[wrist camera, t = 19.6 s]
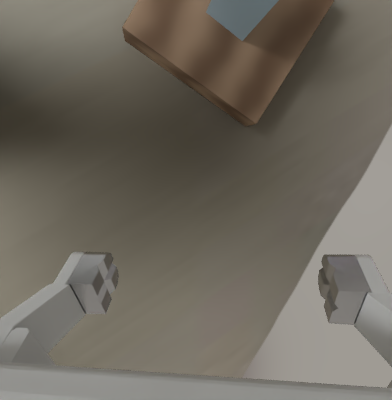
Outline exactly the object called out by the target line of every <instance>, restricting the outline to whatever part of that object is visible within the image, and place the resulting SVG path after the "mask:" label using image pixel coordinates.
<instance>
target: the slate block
mask: <svg viewBox="0 0 392 400" xmlns="http://www.w3.org/2000/svg"><path fill="white" fill-rule="evenodd" d="M278 1H279V0H211V2H210V4H209V6H208V9H207V11H206V13H207V14H209V15H210V16H211V17H212V18H214V19H215V20H216V21H217V22H219V23H220V24H221V25H223V26H224V27H225V28H226V29H228V30H229V31H230V32H231V33H233V34H234V35H235V36H236V37H238V38H239V39H240V40H241V41H243V40H244V39H245V38H246V37H247V35H248V34H249V33H250V32H251V31H252V30H253V29H254V28H255V26H256V25H257V24H258V23H259V22H260V21H261V20H262V19H263V17H264V16H265V15H266V14H267V13H268V12H269V11H270V10H271V9H272V7H273V6H274V5H275V4H276V3H277V2H278Z"/></svg>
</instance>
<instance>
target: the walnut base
mask: <svg viewBox="0 0 392 400" xmlns="http://www.w3.org/2000/svg"><path fill="white" fill-rule="evenodd" d="M210 2H211V0H138V1H137V3H136V5H135V6H134V8H133V10H132V12H131V13H130V15H129V17H128V18H127V20H126V22H125V23H124V25H123V27H122V28H123V33H124V38H125V41H126V42H128V43H129V44H130V45H132V46H133V47H135V48H136V49H137V50H139V51H140V52H142V53H143V54H144V55H146V56H147V57H149V58H150V59H151V60H153V61H154V62H156V63H157V64H158V65H160V66H161V67H163V68H164V69H165V70H167V71H168V72H170V73H171V74H173V75H174V76H175V77H177V78H178V79H180V80H181V81H182V82H184V83H185V84H187V85H188V86H189V87H191V88H192V89H194V90H195V91H196V92H198V93H199V94H201V95H202V96H203V97H205V98H206V99H208V100H209V101H210V102H212V103H213V104H215V105H216V106H217V107H219V108H220V109H222V110H223V111H224V112H226V113H227V114H229V115H230V116H231V117H233V118H234V119H236V120H237V121H239V122H240V123H241V124H243V125H244V126H249V125H254V124H257V122H258V121H259V119H260V117H261V116H262V114H263V113H264V111H265V109H266V108H267V106H268V105H269V103H270V102H271V100H272V98H273V97H274V95H275V94H276V92H277V90H278V89H279V87H280V86H281V84H282V83H283V81H284V79H285V78H286V76H287V75H288V73H289V71H290V70H291V68H292V67H293V65H294V64H295V62H296V60H297V59H298V57H299V56H300V54H301V52H302V51H303V49H304V48H305V46H306V45H307V43H308V41H309V40H310V38H311V37H312V35H313V33H314V32H315V30H316V29H317V27H318V26H319V24H320V22H321V21H322V19H323V18H324V16H325V14H326V13H327V11H328V10H329V8H330V7H331V5H332V3H333V2H334V0H279V1H278V2H277V3H276V4H275V5H274V6H273V7H272V9H271V10H270V11H269V12H268V13H267V14H266V15H265V16H264V17H263V19H262V20H261V21H260V22H259V23H258V24H257V25H256V26H255V28H254V29H253V30H252V31H251V32H250V33H249V34H248V35H247V37H246V38H245V39H244V40H243V41H241V40H240V39H239V38H238V37H236V36H235V35H234V34H233V33H231V32H230V31H229V30H228V29H226V28H225V27H224V26H223V25H221V24H220V23H219V22H217V21H216V20H215V19H214V18H212V17H211V16H210V15H209V14H207V13H206V11H207V9H208V6H209V4H210Z"/></svg>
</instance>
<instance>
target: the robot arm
mask: <svg viewBox="0 0 392 400" xmlns="http://www.w3.org/2000/svg"><path fill="white" fill-rule="evenodd" d="M112 262H113V257H112V254H111V253H103V252H73V253H72V254H71V255H70V256H69V258H68V260H67V261H66V263H65V265H64V266H63V268H62V270H61V271H60V273H59V275H58V276H57V278H56V279H55V281H54V283H53V284H49V285H47V286H46V287H44V288H43V289H41V290H40V291H39V292H37V293H36V294H34V295H33V296H31V297H30V298H29V299H27V300H26V301H24V302H23V303H21V304H20V305H19V306H17V307H16V308H14V309H13V310H11V311H10V312H9V313H7V314H6V315H4V316H3V317H2V318H0V400H392V381H391V382H390V384H389V385H388V387H387V388H380V387H364V386H350V385H336V384H321V383H306V382H292V381H277V380H263V379H248V378H234V377H219V376H205V375H190V374H175V373H160V372H146V371H131V370H116V369H101V368H87V367H72V366H57V365H55V363H54V361H53V360H52V358H51V357H50V356H49V355H48V352H49V351H50V350H51V349H52V348H53V347H54V346H55V345H56V344H57V343H58V342H59V341H60V340H61V339H62V338H63V337H64V336H65V335H66V334H67V333H68V332H69V331H70V330H71V329H72V328H73V327H74V326H75V325H76V324H77V323H78V322H79V321H80V320H81V319H82V318H83V317H84V316H85V314H106V312H107V310H108V307H109V305H110V302H111V300H112V299H111V296H110V294H111V293H112V292H113V291H114V290H115V289H116V286H117V284H118V270H117V267H116V266H115V265H114V264H112ZM322 265H323V268H322V269H321V270H319V276H318V284H319V290H320V294H321V296H322V297H323V298H324V299H325V304H324V308H325V312H326V315H327V318H328V322H329V323H335V324H350V325H354V326H355V327H356V328H357V329H358V331H359V332H360V333H361V334H362V335H363V336H364V337H365V338H366V339H367V340H368V341H369V342H370V344H371V345H372V346H373V347H374V348H375V349H376V350H377V351H378V352H379V353H380V354H381V356H382V357H383V358H384V359H385V360H386V361H387V362H388V363H389V364H390V365H391V367H392V293H390V292H389V290H388V288H387V286H386V284H385V282H384V280H383V278H382V277H381V275H380V273H379V271H378V269H377V267H376V265H375V263H374V261H373V259H372V257H371V256H370V255H324V256H323V258H322Z"/></svg>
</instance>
